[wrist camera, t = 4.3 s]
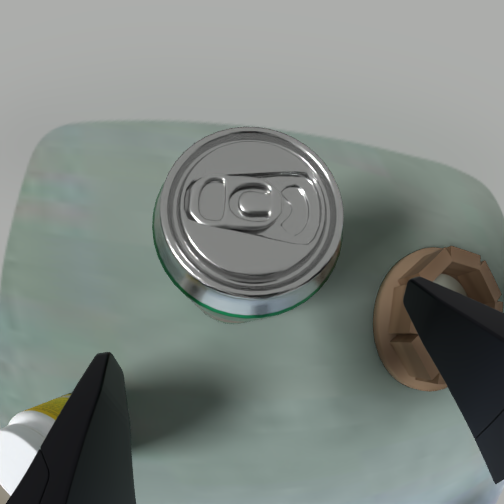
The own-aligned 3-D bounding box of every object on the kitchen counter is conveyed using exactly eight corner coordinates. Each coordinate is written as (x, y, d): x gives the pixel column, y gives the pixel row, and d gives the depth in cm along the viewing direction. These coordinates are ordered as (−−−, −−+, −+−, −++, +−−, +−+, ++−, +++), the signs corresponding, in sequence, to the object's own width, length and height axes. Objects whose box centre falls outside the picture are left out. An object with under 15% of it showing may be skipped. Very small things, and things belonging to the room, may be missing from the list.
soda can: (274, 325, 18) (362, 318, 7) (187, 321, 18) (130, 309, 6) (276, 242, 20) (349, 127, 8) (193, 237, 19) (161, 110, 7)
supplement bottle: (49, 393, 16) (-33, 417, 8) (109, 386, 16) (39, 420, 8) (71, 459, 15) (6, 510, 7) (132, 456, 15) (84, 523, 7)
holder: (491, 329, 20) (521, 326, 16) (414, 417, 18) (443, 427, 14) (437, 226, 21) (465, 211, 18) (345, 304, 19) (369, 298, 16)
